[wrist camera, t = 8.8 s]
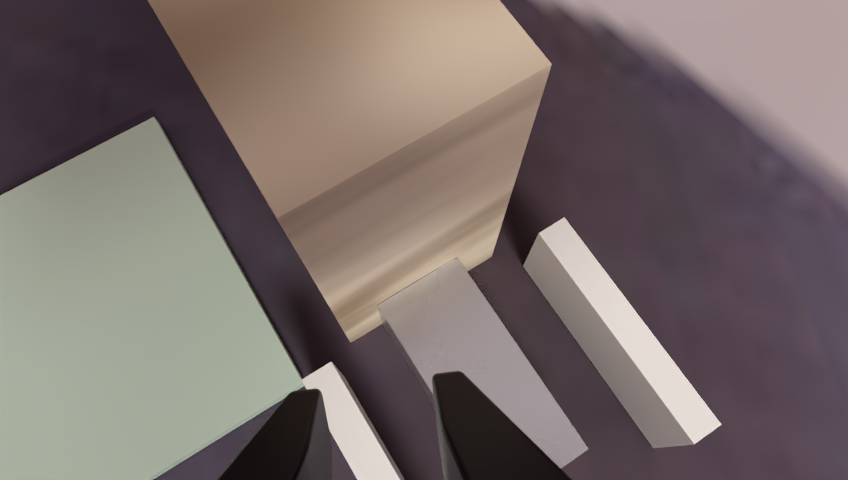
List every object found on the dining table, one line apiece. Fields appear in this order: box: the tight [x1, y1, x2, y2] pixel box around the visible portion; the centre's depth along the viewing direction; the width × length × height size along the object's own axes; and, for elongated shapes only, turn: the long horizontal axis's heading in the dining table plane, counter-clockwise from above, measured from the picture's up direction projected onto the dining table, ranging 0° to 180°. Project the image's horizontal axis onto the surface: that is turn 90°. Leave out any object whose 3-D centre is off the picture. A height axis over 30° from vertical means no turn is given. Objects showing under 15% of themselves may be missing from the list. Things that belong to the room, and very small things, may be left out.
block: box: [148, 0, 552, 343], centre depth 19 cm, size 6×6×12 cm
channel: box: [302, 218, 721, 480], centre depth 20 cm, size 8×10×4 cm
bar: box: [377, 257, 588, 468], centre depth 21 cm, size 7×3×3 cm, turn 32°
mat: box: [0, 117, 304, 480], centre depth 23 cm, size 12×12×1 cm
